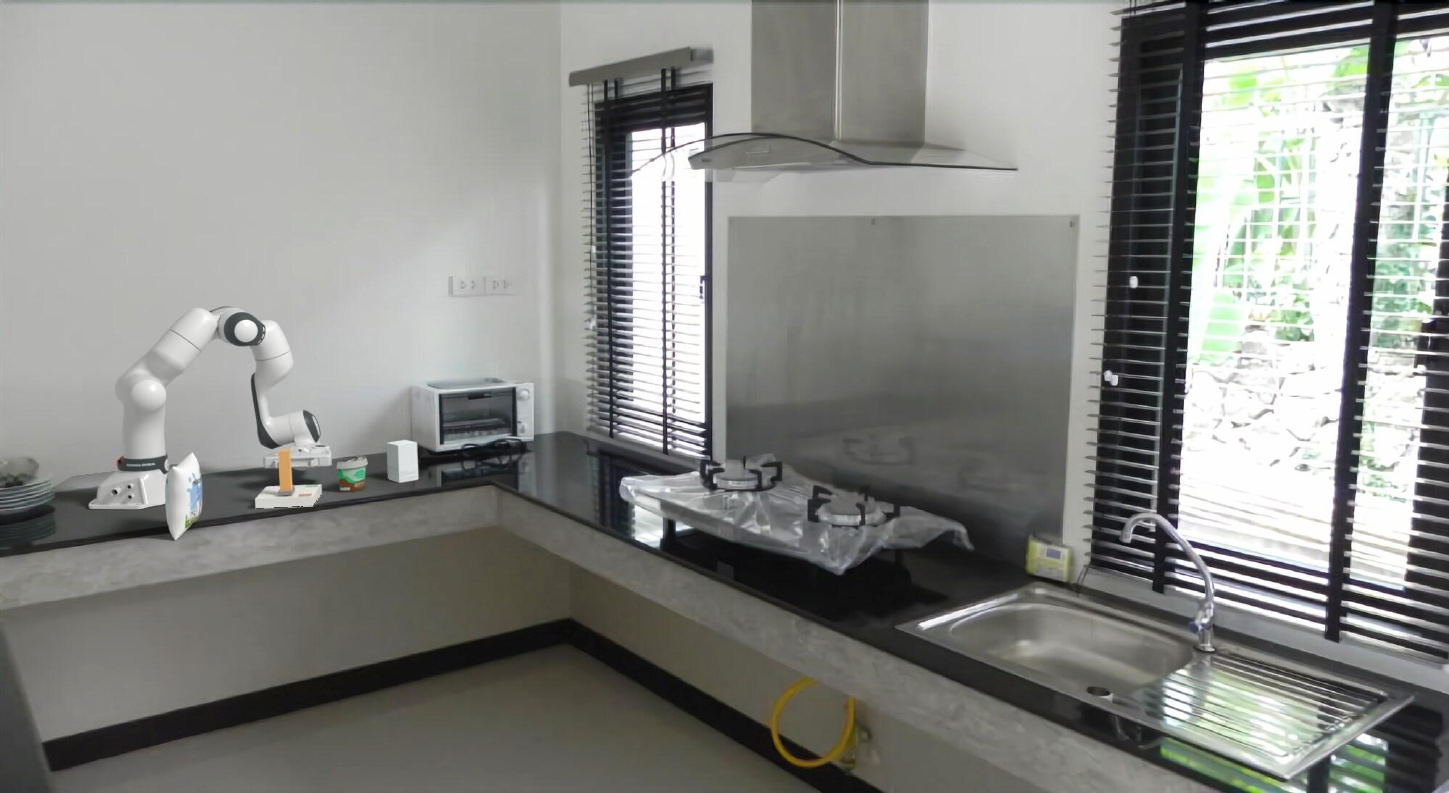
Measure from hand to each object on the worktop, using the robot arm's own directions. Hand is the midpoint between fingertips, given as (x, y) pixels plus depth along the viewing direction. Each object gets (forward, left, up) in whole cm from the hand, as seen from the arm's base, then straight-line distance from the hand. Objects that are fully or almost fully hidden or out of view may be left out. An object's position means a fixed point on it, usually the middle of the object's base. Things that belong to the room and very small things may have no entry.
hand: (294, 465), depth 329 cm
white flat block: (0, -10, -9) cm, 13 cm away
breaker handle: (0, -14, -6) cm, 15 cm away
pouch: (-21, -40, -9) cm, 46 cm away
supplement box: (+31, +14, -9) cm, 35 cm away
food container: (+18, +2, -9) cm, 20 cm away
